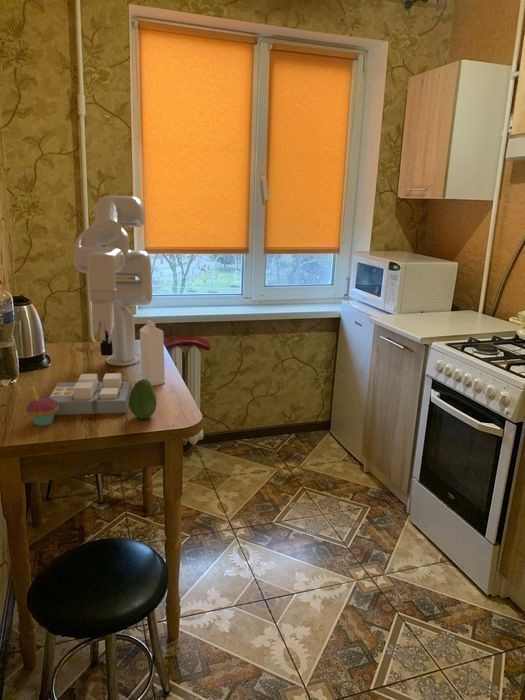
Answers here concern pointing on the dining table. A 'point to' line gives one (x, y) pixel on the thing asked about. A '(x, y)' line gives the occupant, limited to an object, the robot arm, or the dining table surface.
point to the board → (94, 406)
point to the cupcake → (42, 409)
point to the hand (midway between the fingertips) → (107, 354)
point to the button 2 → (83, 391)
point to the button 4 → (109, 393)
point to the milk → (152, 354)
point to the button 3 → (112, 380)
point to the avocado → (142, 399)
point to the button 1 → (89, 379)
